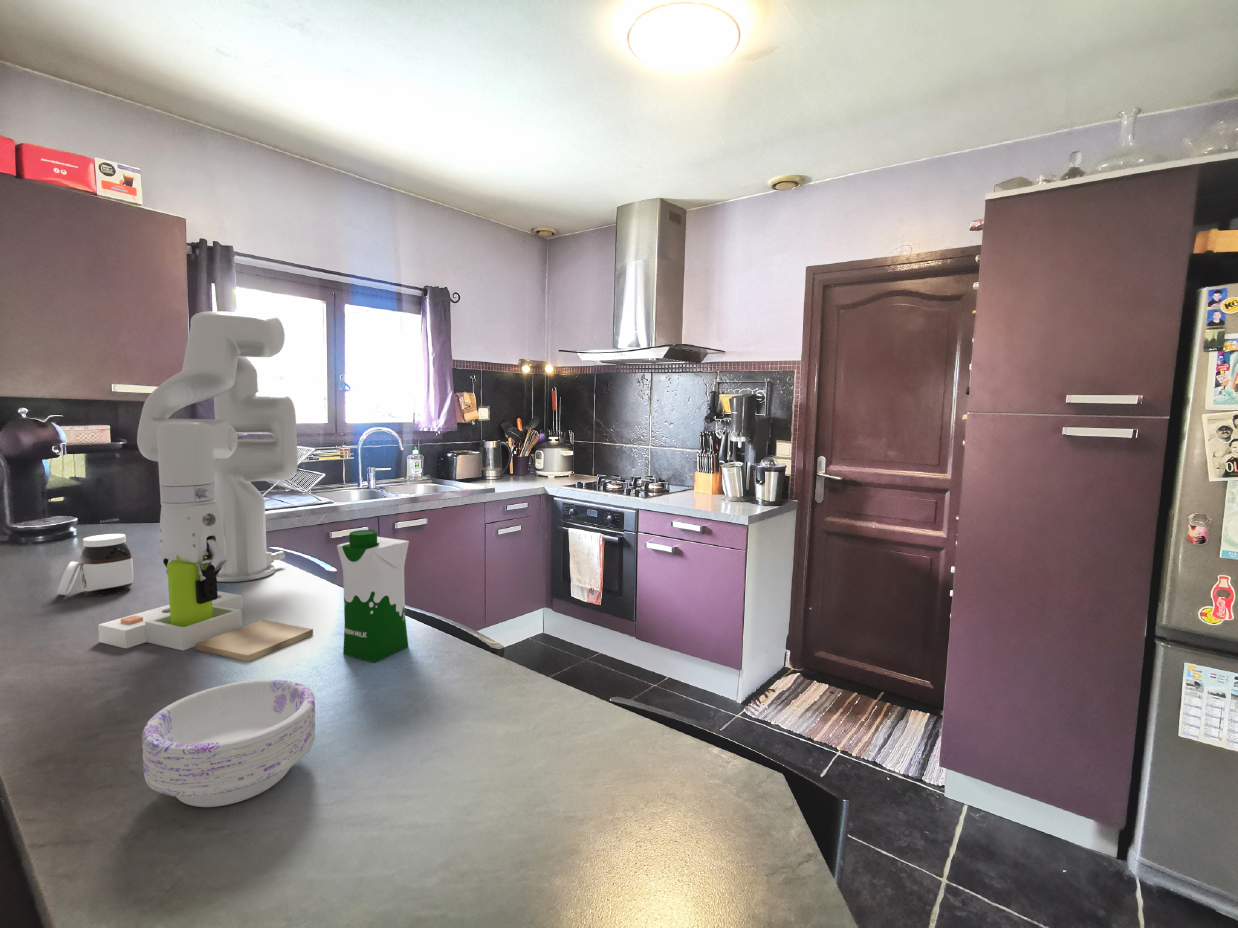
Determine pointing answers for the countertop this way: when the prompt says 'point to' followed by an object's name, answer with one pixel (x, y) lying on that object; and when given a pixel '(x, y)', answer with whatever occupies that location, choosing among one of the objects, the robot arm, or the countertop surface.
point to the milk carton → (373, 595)
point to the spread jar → (101, 566)
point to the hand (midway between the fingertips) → (193, 597)
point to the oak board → (254, 640)
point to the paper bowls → (228, 741)
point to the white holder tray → (173, 626)
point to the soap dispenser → (185, 594)
